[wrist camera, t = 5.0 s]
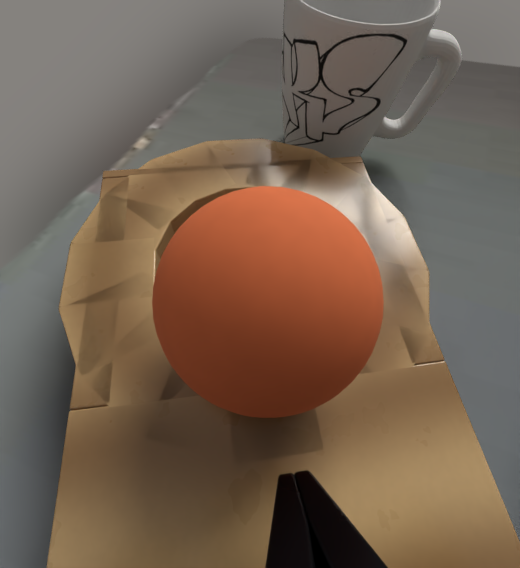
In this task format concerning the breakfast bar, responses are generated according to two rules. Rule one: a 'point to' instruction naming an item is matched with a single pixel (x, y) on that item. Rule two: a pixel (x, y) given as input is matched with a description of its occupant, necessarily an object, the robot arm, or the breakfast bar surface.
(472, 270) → the breakfast bar surface
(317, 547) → the robot arm
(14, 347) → the breakfast bar surface
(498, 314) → the breakfast bar surface
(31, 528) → the breakfast bar surface
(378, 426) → the board
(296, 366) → the ball
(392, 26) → the mug
